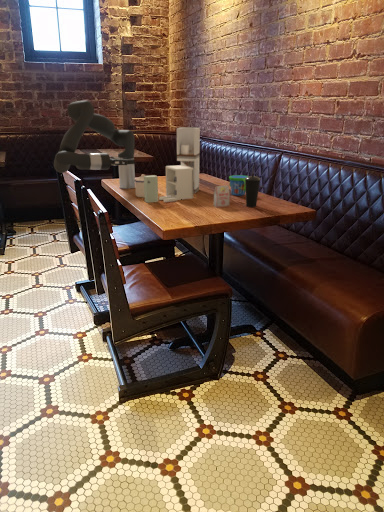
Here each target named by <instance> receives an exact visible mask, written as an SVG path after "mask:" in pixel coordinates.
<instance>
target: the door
mask: <svg viewBox="0 0 384 512" xmlns="http://www.w3.org/2000/svg"><path fill="white" fill-rule="evenodd" d="M158 179H159V178H158V176H157V175H155V174H154V175H153V174H152V175H145V176H144V196H145V197H144V202H145V203H147V204H148V203H158V202H159V193H158V192H159V185H158Z"/></svg>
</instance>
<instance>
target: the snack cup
mask: <svg viewBox="0 0 384 512" xmlns="http://www.w3.org/2000/svg"><path fill="white" fill-rule="evenodd" d="M247 177H249V176H248V175H244V174H243V175H241V174H240V175H239V174H235V175H230V176H228V180H229V185H228V186H229V187H230V193H231V195H232V196H245V195H246V186H245V178H247Z"/></svg>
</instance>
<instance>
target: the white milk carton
mask: <svg viewBox="0 0 384 512" xmlns="http://www.w3.org/2000/svg"><path fill="white" fill-rule="evenodd" d="M229 187H230V185H218V186H215V188H214V192H213V206H214V207H215V208H225V207H230V189H229Z"/></svg>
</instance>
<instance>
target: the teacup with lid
mask: <svg viewBox="0 0 384 512" xmlns="http://www.w3.org/2000/svg"><path fill="white" fill-rule="evenodd" d="M144 176H146V174H141V176H138V177H137V178H136V177H135V196H136V197H138V198H145V196H144Z"/></svg>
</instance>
